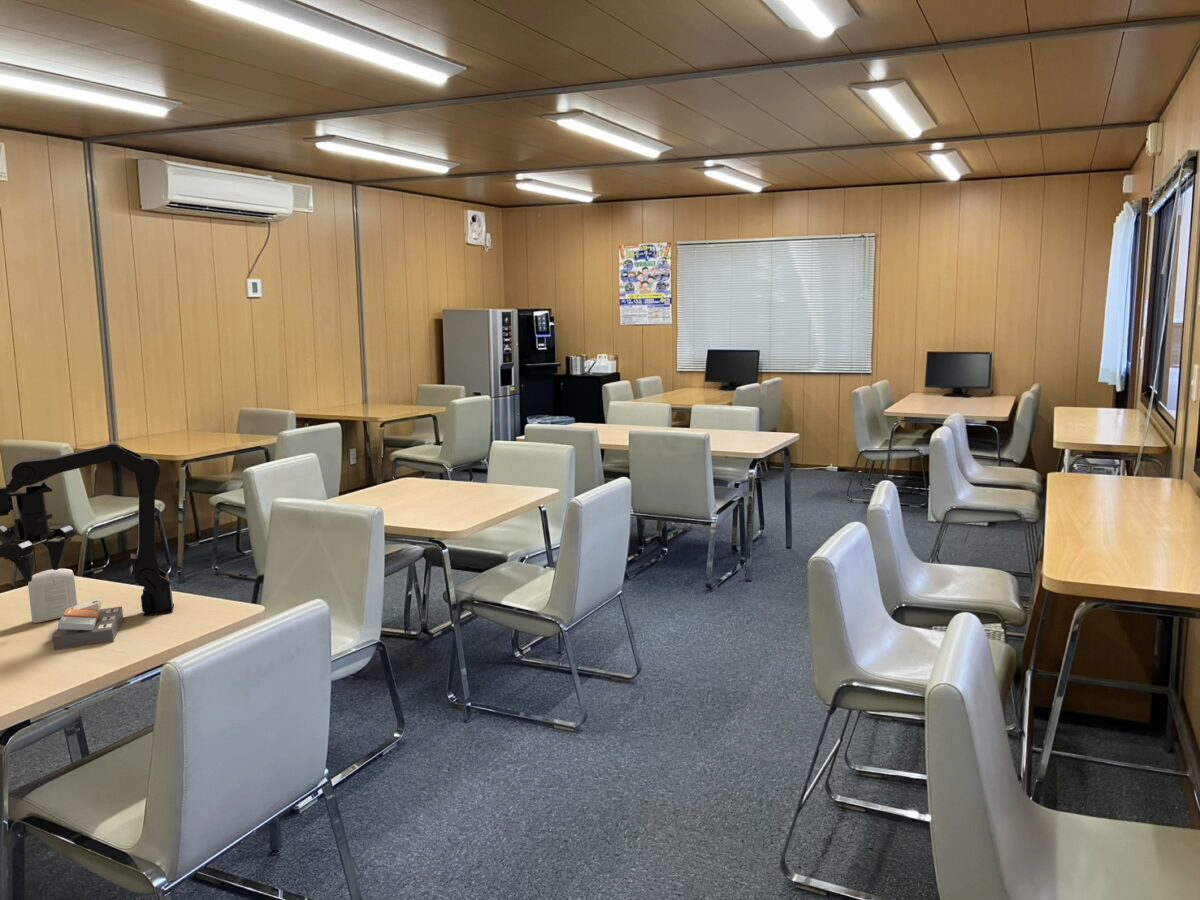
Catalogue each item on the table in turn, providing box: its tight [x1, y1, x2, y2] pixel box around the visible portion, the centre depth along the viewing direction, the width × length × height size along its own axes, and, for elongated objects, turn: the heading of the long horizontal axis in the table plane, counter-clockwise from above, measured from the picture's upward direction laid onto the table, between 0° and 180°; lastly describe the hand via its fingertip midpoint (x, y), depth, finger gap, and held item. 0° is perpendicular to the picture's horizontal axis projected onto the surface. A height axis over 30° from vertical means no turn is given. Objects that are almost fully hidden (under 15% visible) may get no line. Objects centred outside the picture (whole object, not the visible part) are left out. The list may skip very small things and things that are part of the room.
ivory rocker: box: [69, 597, 103, 610], centre depth 218 cm, size 7×5×2 cm, turn 111°
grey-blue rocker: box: [57, 617, 96, 630], centre depth 207 cm, size 7×5×2 cm, turn 112°
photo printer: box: [27, 568, 79, 624], centre depth 225 cm, size 10×4×12 cm, turn 135°
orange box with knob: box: [63, 609, 100, 622], centre depth 213 cm, size 7×5×2 cm, turn 112°
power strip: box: [51, 606, 124, 651], centre depth 214 cm, size 12×18×4 cm, turn 21°
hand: (42, 575), depth 216 cm, fingers open, 9 cm apart
